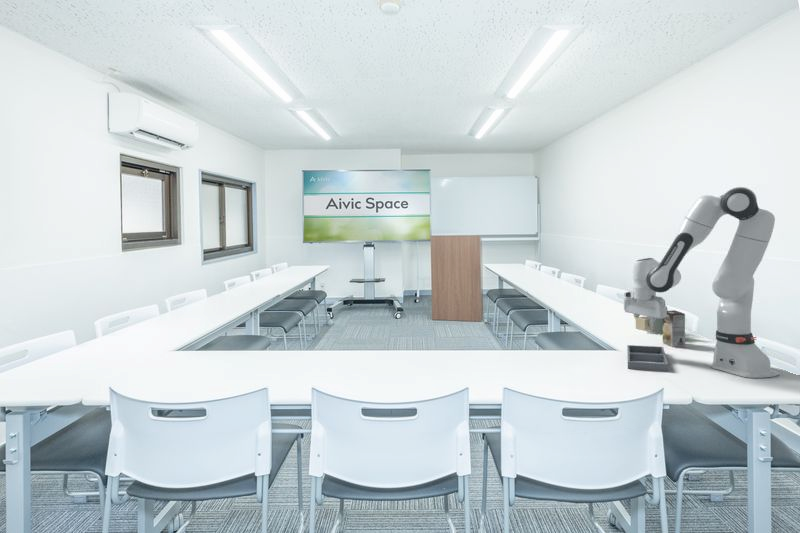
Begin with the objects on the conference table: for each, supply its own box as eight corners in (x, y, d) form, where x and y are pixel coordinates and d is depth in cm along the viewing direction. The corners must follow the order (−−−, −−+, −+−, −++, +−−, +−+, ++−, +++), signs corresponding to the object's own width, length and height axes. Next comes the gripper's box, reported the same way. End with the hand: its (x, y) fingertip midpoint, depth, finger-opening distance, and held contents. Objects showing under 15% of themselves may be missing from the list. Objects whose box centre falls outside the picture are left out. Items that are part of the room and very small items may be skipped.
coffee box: (661, 342, 230) (661, 310, 229) (675, 342, 230) (674, 310, 229) (672, 347, 221) (671, 314, 220) (686, 346, 221) (685, 313, 220)
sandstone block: (653, 329, 207) (653, 318, 206) (644, 330, 205) (644, 319, 205) (644, 327, 212) (644, 316, 211) (635, 328, 210) (635, 317, 209)
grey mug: (642, 332, 254) (641, 305, 253) (659, 328, 260) (659, 302, 259) (657, 335, 246) (656, 307, 245) (674, 331, 252) (674, 303, 251)
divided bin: (668, 371, 187) (668, 364, 187) (627, 368, 193) (627, 361, 193) (663, 353, 212) (663, 346, 212) (627, 351, 219) (627, 345, 219)
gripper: (670, 296, 198) (670, 328, 199) (631, 291, 218) (632, 320, 219) (659, 298, 196) (659, 330, 197) (621, 292, 216) (621, 322, 217)
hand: (644, 325), depth 208 cm, fingers closed on sandstone block, 5 cm apart
